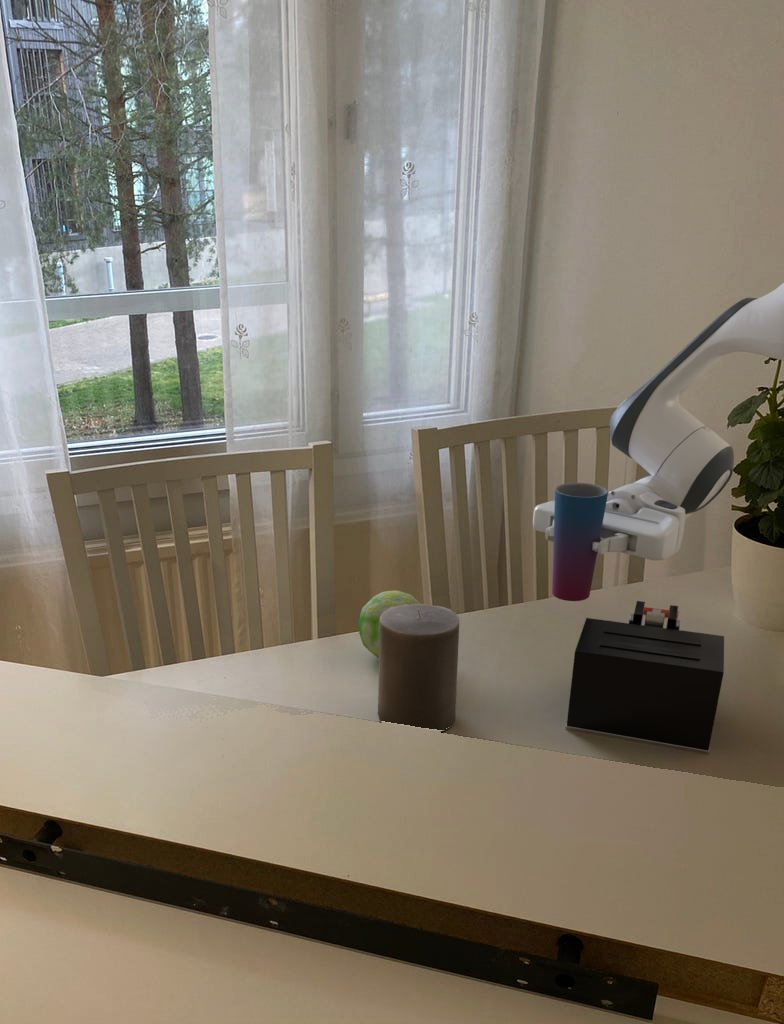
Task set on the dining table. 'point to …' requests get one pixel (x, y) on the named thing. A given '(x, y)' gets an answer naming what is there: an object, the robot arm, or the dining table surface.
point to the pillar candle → (418, 666)
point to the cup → (576, 538)
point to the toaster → (646, 684)
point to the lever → (655, 617)
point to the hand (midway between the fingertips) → (572, 541)
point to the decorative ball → (372, 613)
